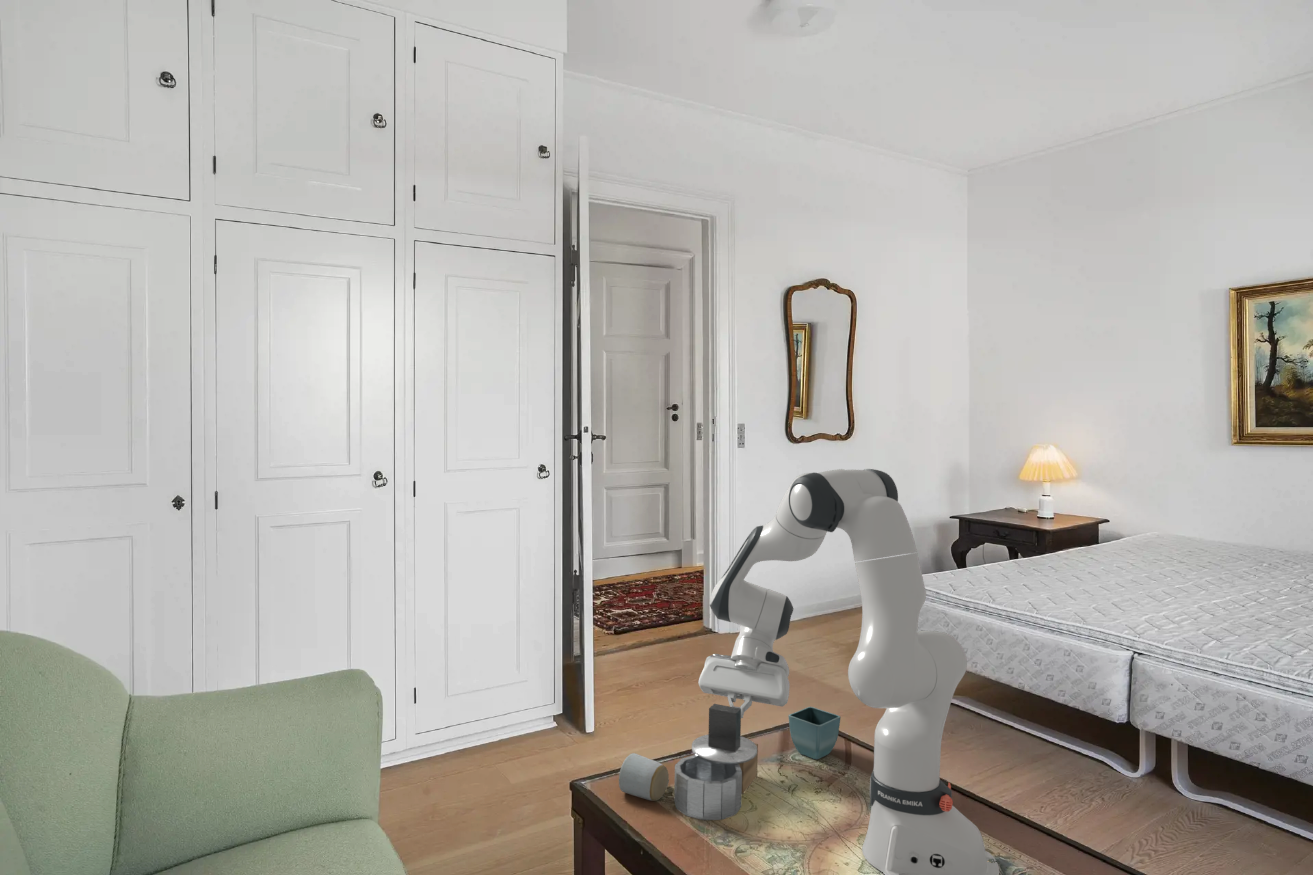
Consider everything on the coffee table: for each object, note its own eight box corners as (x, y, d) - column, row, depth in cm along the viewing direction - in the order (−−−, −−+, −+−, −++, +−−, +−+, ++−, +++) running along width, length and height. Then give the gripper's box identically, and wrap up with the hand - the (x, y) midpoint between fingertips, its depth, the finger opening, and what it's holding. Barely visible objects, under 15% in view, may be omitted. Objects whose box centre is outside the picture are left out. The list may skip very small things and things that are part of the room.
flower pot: (786, 753, 180) (787, 714, 180) (809, 742, 186) (810, 705, 186) (818, 765, 174) (819, 725, 173) (840, 754, 180) (841, 716, 179)
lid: (765, 744, 167) (766, 703, 167) (744, 769, 155) (745, 725, 154) (706, 732, 173) (707, 692, 173) (681, 755, 160) (682, 713, 160)
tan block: (757, 775, 168) (757, 744, 168) (743, 793, 160) (743, 760, 160) (713, 766, 172) (714, 735, 172) (697, 783, 164) (698, 750, 164)
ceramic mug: (652, 808, 153) (653, 769, 153) (617, 797, 157) (618, 759, 157) (678, 788, 162) (679, 751, 162) (644, 778, 166) (645, 742, 166)
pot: (749, 796, 159) (749, 762, 159) (726, 825, 147) (727, 789, 147) (690, 782, 164) (690, 749, 164) (664, 809, 153) (664, 774, 152)
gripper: (704, 645, 180) (687, 700, 172) (791, 658, 171) (777, 717, 163) (711, 659, 184) (694, 714, 176) (796, 672, 176) (783, 731, 167)
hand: (735, 716), depth 169 cm, fingers closed
